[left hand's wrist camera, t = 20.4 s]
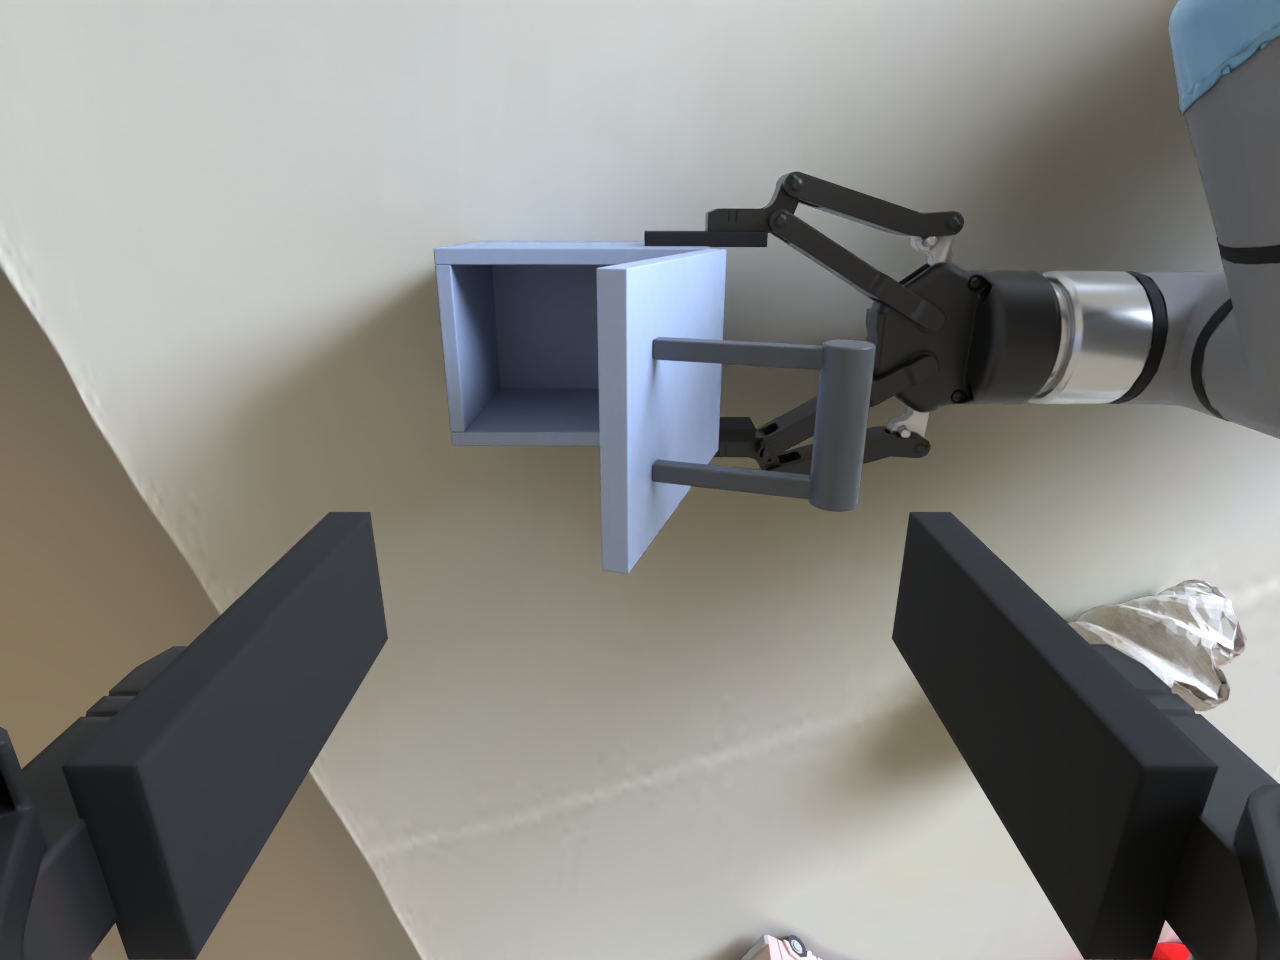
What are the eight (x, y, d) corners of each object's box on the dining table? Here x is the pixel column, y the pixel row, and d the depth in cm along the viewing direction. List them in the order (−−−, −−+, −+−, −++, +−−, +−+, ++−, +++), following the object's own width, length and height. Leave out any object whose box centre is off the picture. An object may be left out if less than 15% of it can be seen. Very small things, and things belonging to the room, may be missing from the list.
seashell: (987, 608, 55) (1059, 689, 45) (1188, 554, 53) (1306, 626, 44) (1006, 713, 58) (1076, 809, 49) (1195, 666, 56) (1306, 754, 47)
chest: (491, 396, 49) (451, 446, 39) (480, 241, 46) (432, 248, 35) (693, 397, 49) (708, 446, 39) (697, 241, 46) (715, 248, 35)
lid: (601, 570, 25) (846, 608, 23) (595, 267, 21) (884, 274, 19) (700, 448, 38) (861, 464, 36) (706, 249, 35) (885, 251, 32)
